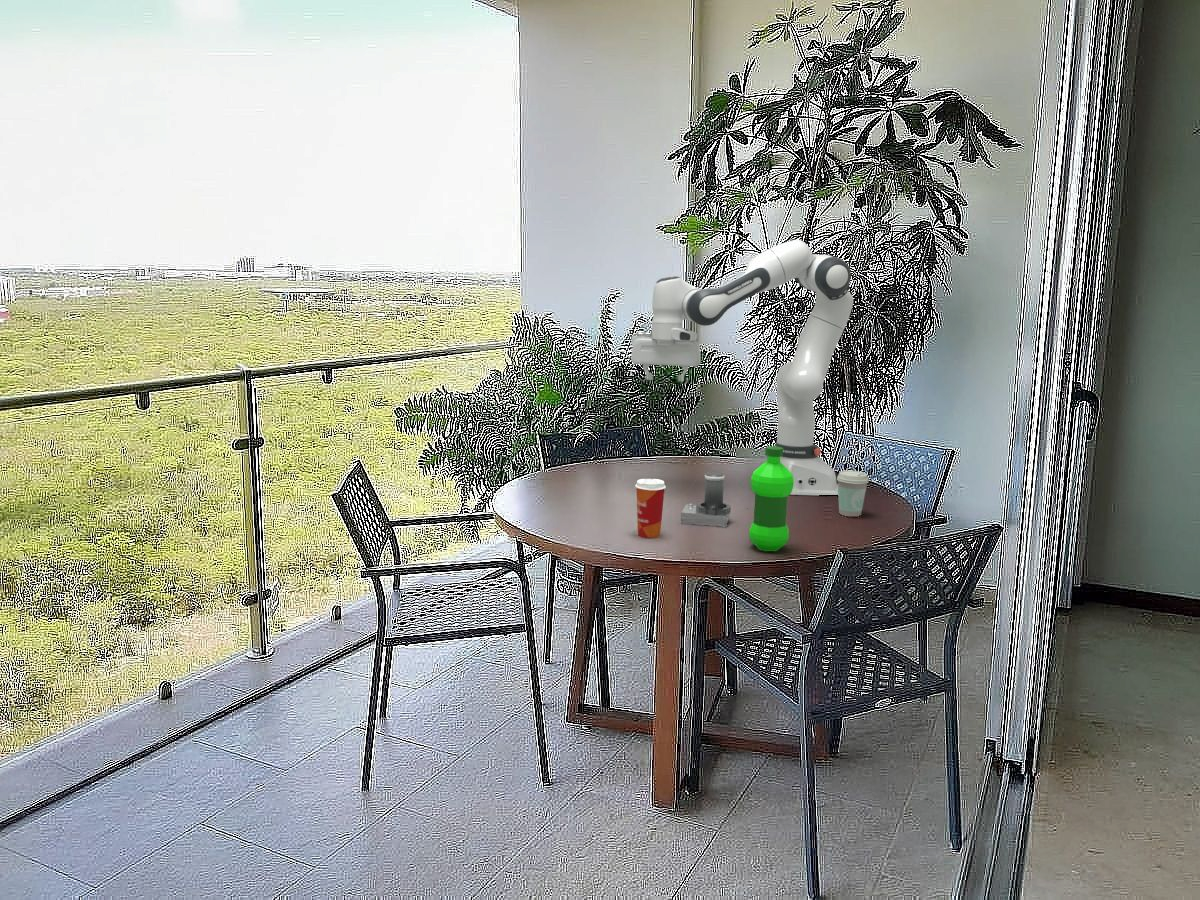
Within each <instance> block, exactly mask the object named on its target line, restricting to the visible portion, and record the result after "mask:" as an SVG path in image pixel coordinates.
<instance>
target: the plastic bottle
mask: <svg viewBox="0 0 1200 900" xmlns="http://www.w3.org/2000/svg"><path fill="white" fill-rule="evenodd" d="M764 448H765V450H764V451H765V452H764V456H766V461H765V462H763V463H761V464H760V466H758V467H757V468H756V469H755V470H753V473H752V475H751V478H750V490H751V491H752V492H753V493H754V495H755V496H754V508H753V509H754V510H753V511H754V512H753V522H752V523H751V525H750V527H749V533H748V537H749V539H750V541H751V542H752V544H753V546H755V547H757V549H758V548H759V549H758V550H760V549H761V550H760V551H762V550H764V551H763V552H767V551H774V552H777V551H779V550H780V549H782V548H783V547H784V546H786V544H787V543H788V541H789V538H790V529H789V527H788V524H787V511H788V509H787V507H788V497H789V495H790V493H792V489H793V485H794V478H793V474H792V473H791V472H790V471H789V470H788V469H787V468H786V467H785V466H784V465H783V464H782V463H781V462H780V457H782V456H783V448H782V447H777V446H775V445H773V446H772V445H769V446H768V445H767V446H765V447H764Z"/></svg>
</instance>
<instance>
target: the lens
mask: <svg viewBox="0 0 1200 900" xmlns="http://www.w3.org/2000/svg"><path fill="white" fill-rule="evenodd" d="M724 488H725V474H724V473H722V472H715V471H714V472H713V471H712V472H705V474H704V497H703V498H704V499H703V500H704V501H703V502H704V507H705V508H710V509H722V508H723V503H724Z"/></svg>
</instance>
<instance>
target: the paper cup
mask: <svg viewBox="0 0 1200 900" xmlns="http://www.w3.org/2000/svg"><path fill="white" fill-rule="evenodd" d="M635 488H636V516H637V518H636V523H637V536H638V537H640V538H643V539H656V538H659V537H660V536H661V529H662V519H663V510H664V509H663V508H664V498H665V489H666V488H667V487H666V485H665V481H664V480H662V479H659V478H640V479H637V481H636V484H635Z"/></svg>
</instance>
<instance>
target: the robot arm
mask: <svg viewBox="0 0 1200 900" xmlns="http://www.w3.org/2000/svg"><path fill="white" fill-rule="evenodd" d="M851 273H852V272H851V268H850V266H849V264H848V263H847V262H846V261H844V259H842V258H839V257H837V256H832V255H829V254H817V253H812V250H811V249H810V247H809V246H808V244H807V243H806V242H804V241H803V240H800V239H792V240H790V241H789V240H788V241H786V242H783V243H780V244H779V243H778V244H777V245H774V246H772V247H770V248H768V249H766V250H763V251H762V252H760V253H759V254H757V255H756V256H754V257H753V258H752V259H750V260H749V261H748V263H747V265H746V268H745V272H744V273H743V274H741V276H739V277H737V278H735V279H734V280H732V281H730V282H728V283H726V284H724V285H722V286H720V287H718V288H714V289H713V288H708V289H707V288H706V289H705V288H704V289H703V288H700V287H696V286H694V285H692V284H690V283H688V281H687V282H686V280H684V279H683V278H682V277H681V276H668V277H662V278H660V279H658V280H657V281H656V282H655V284H654V286H653V291H652V293H653V294H652V302H651V303H652V308H651V309H652V310H653V311H652V313H653V315H652V320H651V331H650V332H639V331H638V332H636V333H634V334H632V336H631V342H630V343H631V346H632V347H631V348H632V350H631V355H630V358H631V359H630V361H631V363H632V364H634V365H642V369H643V371H644V373H645V378H646V381H652V380H653V373H650V370H649V369H648V368H650V367H649V366H650V365H652V366H653V365H654V366H670V367H671V366H674V367H675V366H676V367H677V366H678V367H681V368H682V369H681V370H682V372H681V374H678V375H677V378H678V379H677V381H678V382H684V381H685V375H686V373H687V371H688V370H689V367H692V368H693V367H695V368H696V367H699V365H700V364H701V361H702V360H701V357H702V355H701V348H700V347H701V346H700V344H699V342H698V341H697V338H698V333H697V332H696V331H692V330H689V329H687V328H684V327H683V321H684V320H687V321H689V322H692V323H695V324H698V325H699V326H703V327H705V326H711V325H715V324H716V323H717V322H718V321H719V320H720V319H722V317H723V316H724V315H725V313H727V311H728V310H729V309H731V308H732V307H734V306H736V305H737V304H739V303H741V302H743V301H745V300H747V299H749V298H751V297H752V296H755V295H756V294H759V293H763V292H767V291H770V290H772V289H775V288H777V287H780V286H782V285H784V284H786V283H788V282H790V281H792V280H794V279H795V280H796V282H797V283H798V285H800V286H801V287H802V288H803V289H806V290H809V291H811V292H813V293H815V297H816V299H815V304H814V307H812V308H813V309H812V310H811V312H810V314H809V317H808V318H807V321H806V323H805V324H804V327H803V329H802V331H801V334H800V335H799V338H798V342H797V346H796V350H795V353H794V356H793V360H792V361H789V362H787V363H785V364H784V365H782V366H781V367H780V368H779V370H778V372H777V374H776V399H777V400H776V401H777V413H778V414H777V416H778V417H777V420H778V421H777V433H776V434H777V435H776V437H777V438H776V442H775V445H774V446H777V447H782V448H783V456H782V457H780V462H781V463H782V464H783V465H784V466H785V467H786V468H787V469H788V470H789V471H790V472H791V473H792V474H793V478H794V485H793V489H792V493H790V494H789V495H793V496H794V495H798V496H819V495H838V482H837V476H836V475H837V474H836V472H835V470H834V469H833V467H831V466H830V465H829V464H827V463H826V462H825V461H824V459H822V458H821V457H820V455H822V449H820V447H819V446H818V445H815V444H814V440H815V439H814V438H815V426H816V423H815V422H816V419H815V418H816V417H815V411H814V400H815V399H817V398H819V396H820V395H821V393H822V391H823V388H824V382H825V379H826V377H827V373H828V370H829V367H830V363H831V360H832V357H833V354H834V351H835V349H836V347H837V345H838V343H839V340H840V339H841V337H842V335H843V333H844V330H845V328H846V327H847V326H846V325H847V323H848V322H849V319H850V316H851V312H852V309H853V305H854V297H853V295H852V293H851V292H850V283H851V279H852V276H851V275H852V274H851Z"/></svg>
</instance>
